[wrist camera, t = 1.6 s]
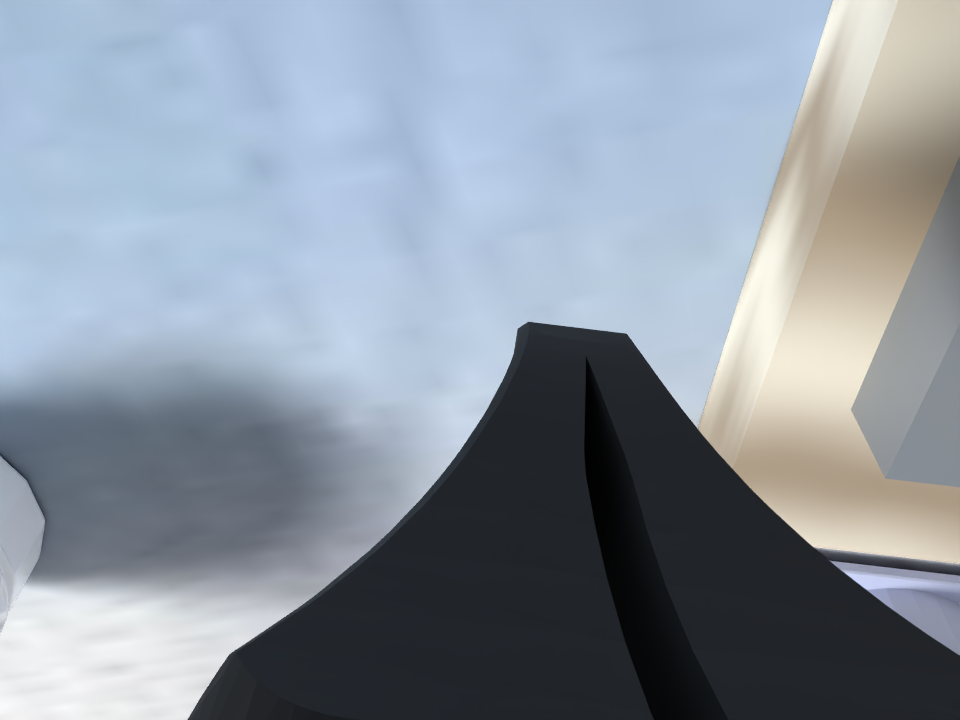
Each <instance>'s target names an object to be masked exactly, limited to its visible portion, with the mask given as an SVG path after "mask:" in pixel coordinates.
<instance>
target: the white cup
mask: <svg viewBox="0 0 960 720" xmlns="http://www.w3.org/2000/svg"><path fill="white" fill-rule="evenodd" d="M44 526H45V518H44V516H43V514H42V512H41V510H40V507H39V505H38V503H37V501H36V499H35V497H34V495H33V493H32V491H31V489H30V486H29V484H28V482H27V481H26V479H25V478H24V477H23V476H21V475H20V474H19V473H18V472H17V471H16V470H15V469H14V468H13V467H12V466H11V465H9V464H8V463H7V462H6V461H5V460H4V459H3V458H2V457H1V456H0V634H1V631H2V629H3V626H4V624H5V621H6V619H7V616H8V612H9V611H10V609H11V607H12V606H13V604H14V602H15V600H16V599H17V597H18V595H19V593H20V592H21V590H22V588H23V586H24V584H25V583H26V581H27V579H28V577H29V575H30V574H31V572H32V570H33V568H34V567H35V565H36V563H37V561H38V559H39V557H40V553H41V546H42V540H43V533H44Z"/></svg>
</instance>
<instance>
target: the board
mask: <svg viewBox="0 0 960 720" xmlns="http://www.w3.org/2000/svg"><path fill="white" fill-rule="evenodd" d="M959 156H960V0H833V2H832V5H831V9H830V12H829V15H828V18H827V21H826V25H825V28H824V31H823V34H822V37H821V40H820V44H819V47H818V50H817V53H816V56H815V59H814V63H813V66H812V69H811V72H810V75H809V78H808V82H807V85H806V88H805V91H804V94H803V97H802V101H801V104H800V107H799V110H798V113H797V117H796V120H795V123H794V126H793V129H792V132H791V136H790V139H789V142H788V145H787V148H786V151H785V155H784V158H783V161H782V164H781V167H780V170H779V174H778V177H777V180H776V183H775V186H774V189H773V193H772V196H771V199H770V202H769V205H768V209H767V212H766V215H765V218H764V221H763V224H762V228H761V231H760V234H759V237H758V240H757V243H756V247H755V250H754V253H753V256H752V259H751V262H750V266H749V269H748V272H747V275H746V278H745V282H744V285H743V288H742V291H741V294H740V297H739V301H738V304H737V307H736V310H735V313H734V316H733V320H732V323H731V326H730V329H729V332H728V335H727V339H726V342H725V345H724V348H723V351H722V354H721V358H720V361H719V364H718V367H717V370H716V374H715V377H714V380H713V383H712V386H711V389H710V393H709V396H708V399H707V402H706V405H705V408H704V412H703V415H702V418H701V421H700V424H699V427H698V430H699V431H700V432H701V434H702V435H703V436H704V437H705V438H706V440H707V441H708V442H709V443H710V444H711V445H712V447H713V448H714V449H715V450H716V451H717V452H718V454H719V455H720V456H721V457H722V458H723V459H724V460H725V461H726V462H727V463H728V464H729V466H730V467H731V468H732V469H733V470H734V471H735V472H736V473H737V474H738V475H739V476H740V477H741V479H742V480H743V481H744V482H745V483H746V484H747V485H748V486H749V487H750V488H751V489H752V490H753V491H754V492H755V493H756V494H757V495H758V496H759V497H760V498H761V499H762V500H763V501H764V502H765V503H766V504H767V505H768V506H769V507H770V508H771V509H772V510H773V511H774V512H775V513H776V514H777V515H779V516H780V517H781V518H782V519H783V520H784V521H785V522H786V523H787V524H788V525H789V526H791V527H792V528H793V529H794V530H795V531H796V532H797V533H798V534H799V535H800V536H801V537H803V538H804V539H805V540H806V541H807V542H808V543H809V544H810V545H811V546H813V547H818V548H827V549H835V550H844V551H853V552H861V553H870V554H879V555H887V556H896V557H904V558H913V559H922V560H930V561H939V562H948V563H956V564H960V487H953V486H944V485H936V484H927V483H919V482H910V481H902V480H893V479H885V477H884V475H883V473H882V471H881V469H880V467H879V465H878V463H877V461H876V459H875V457H874V455H873V453H872V451H871V449H870V447H869V445H868V443H867V441H866V439H865V437H864V435H863V433H862V431H861V429H860V427H859V425H858V423H857V421H856V419H855V417H854V415H853V413H852V411H851V408H852V406H853V403H854V401H855V399H856V396H857V394H858V392H859V389H860V387H861V385H862V382H863V380H864V378H865V375H866V373H867V371H868V369H869V366H870V364H871V362H872V359H873V357H874V355H875V352H876V350H877V348H878V345H879V343H880V341H881V338H882V336H883V334H884V331H885V329H886V327H887V324H888V322H889V320H890V317H891V315H892V313H893V310H894V308H895V306H896V303H897V301H898V299H899V296H900V294H901V292H902V289H903V287H904V285H905V282H906V280H907V278H908V275H909V273H910V271H911V268H912V266H913V264H914V261H915V259H916V257H917V254H918V252H919V250H920V247H921V245H922V243H923V240H924V238H925V236H926V233H927V231H928V229H929V226H930V224H931V222H932V219H933V217H934V215H935V212H936V210H937V208H938V205H939V203H940V201H941V198H942V196H943V194H944V191H945V189H946V187H947V184H948V182H949V180H950V177H951V175H952V173H953V170H954V168H955V166H956V163H957V161H958V159H959Z"/></svg>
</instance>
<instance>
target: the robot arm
mask: <svg viewBox="0 0 960 720" xmlns="http://www.w3.org/2000/svg"><path fill="white" fill-rule="evenodd" d="M188 720H960V576H957V575H949V574H940V573H931V572H923V571H914V570H905V569H897V568H888V567H879V566H871V565H862V564H853V563H845V562H836V561H829V560H828V559H827V558H826V557H824V556H823V555H822V554H821V553H820V552H818V551H817V550H816V549H815V548H814V547H813V546H811V545H810V544H809V543H808V542H807V541H806V540H805V539H804V538H803V537H801V536H800V535H799V534H798V533H797V532H796V531H795V530H794V529H793V528H792V527H791V526H789V525H788V524H787V523H786V522H785V521H784V520H783V519H782V518H781V517H780V516H779V515H777V514H776V513H775V512H774V511H773V510H772V509H771V508H770V507H769V506H768V505H767V504H766V503H765V502H764V501H763V500H762V499H761V498H760V497H759V496H758V495H757V494H756V493H755V492H754V491H753V490H752V489H751V488H750V487H749V486H748V485H747V484H746V483H745V482H744V481H743V480H742V479H741V477H740V476H739V475H738V474H737V473H736V472H735V471H734V470H733V469H732V468H731V467H730V466H729V464H728V463H727V462H726V461H725V460H724V459H723V458H722V457H721V456H720V455H719V454H718V452H717V451H716V450H715V449H714V448H713V447H712V445H711V444H710V443H709V442H708V441H707V440H706V438H705V437H704V436H703V435H702V434H701V432H700V431H699V430H698V429H697V427H696V426H695V425H694V424H693V422H692V421H691V420H690V419H689V417H688V416H687V415H686V414H685V412H684V411H683V410H682V409H681V407H680V406H679V405H678V403H677V402H676V401H675V399H674V398H673V397H672V395H671V394H670V393H669V391H668V390H667V389H666V387H665V386H664V385H663V383H662V382H661V380H660V379H659V378H658V376H657V375H656V374H655V372H654V371H653V369H652V368H651V367H650V365H649V364H648V362H647V361H646V360H645V358H644V357H643V355H642V354H641V353H640V351H639V350H638V349H637V347H636V346H635V344H634V343H633V342H632V340H631V339H630V338H629V336H628V335H627V334H624V333H616V332H608V331H599V330H591V329H583V328H575V327H566V326H558V325H550V324H542V323H533V322H528V323H526V324H524V325H523V326H521V327H520V328H518V331H517V337H516V343H515V349H514V355H513V358H512V360H511V363H510V365H509V368H508V370H507V372H506V375H505V377H504V379H503V381H502V383H501V385H500V386H499V388H498V390H497V392H496V394H495V396H494V398H493V400H492V402H491V403H490V405H489V407H488V409H487V411H486V412H485V414H484V416H483V417H482V419H481V420H480V422H479V423H478V425H477V426H476V428H475V429H474V431H473V432H472V434H471V435H470V437H469V438H468V440H467V441H466V443H465V444H464V446H463V447H462V449H461V450H460V452H459V453H458V454H457V456H456V457H455V458H454V460H453V461H452V462H451V464H450V465H449V466H448V468H447V469H446V470H445V471H444V473H443V474H442V475H441V476H440V478H439V479H438V480H437V481H436V482H435V483H434V485H433V486H432V487H431V488H430V489H429V491H428V492H427V493H426V494H425V495H424V496H423V497H422V499H421V500H420V501H419V502H418V503H417V504H416V505H415V506H414V507H413V508H412V509H411V510H410V511H409V512H408V513H407V514H406V515H405V516H404V517H403V519H402V520H401V521H400V522H399V523H398V524H397V525H396V526H395V527H394V528H393V529H392V530H391V531H390V532H389V533H388V534H387V535H386V536H385V537H384V538H383V539H382V540H380V541H379V542H378V543H377V544H376V545H375V546H374V547H373V548H372V549H371V550H370V551H369V552H367V553H366V554H365V555H364V556H363V557H361V558H360V559H359V560H358V561H357V562H355V563H354V564H353V565H352V566H350V567H349V568H348V569H347V570H346V571H344V572H343V573H342V574H341V575H340V576H338V577H337V578H336V579H335V580H334V581H332V582H331V583H330V584H329V585H328V586H326V587H325V588H324V589H323V590H322V591H320V592H319V593H318V594H317V595H315V596H314V597H313V598H311V599H310V600H309V601H307V602H306V603H305V604H303V605H302V606H300V607H299V608H297V609H296V610H294V611H293V612H292V613H290V614H289V615H287V616H286V617H284V618H283V619H281V620H280V621H278V622H277V623H275V624H274V625H272V626H271V627H269V628H268V629H266V630H265V631H264V632H262V633H261V634H259V635H258V636H256V637H255V638H253V639H252V640H250V641H249V642H247V643H246V644H244V645H243V646H241V647H240V648H238V649H237V650H235V651H234V652H232V653H231V654H229V656H228V657H227V659H226V660H225V662H224V663H223V664H222V666H221V667H220V669H219V670H218V672H217V673H216V675H215V677H214V678H213V680H212V681H211V683H210V684H209V686H208V687H207V689H206V690H205V692H204V693H203V695H202V697H201V698H200V700H199V701H198V703H197V705H196V707H195V708H194V710H193V712H192V713H191V715H190V717H189V718H188Z"/></svg>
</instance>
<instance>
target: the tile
mask: <svg viewBox="0 0 960 720" xmlns="http://www.w3.org/2000/svg"><path fill="white" fill-rule="evenodd" d="M851 411H852V413H853V415H854V417H855V419H856V421H857V423H858V425H859V427H860V429H861V431H862V433H863V435H864V437H865V439H866V441H867V443H868V445H869V447H870V449H871V451H872V453H873V455H874V457H875V459H876V461H877V463H878V465H879V467H880V469H881V471H882V473H883V475H884V477H885V479H893V480H902V481H910V482H919V483H927V484H936V485H944V486H953V487H960V156H959V159H958V161H957V163H956V166H955V168H954V170H953V173H952V175H951V177H950V180H949V182H948V184H947V187H946V189H945V191H944V194H943V196H942V198H941V201H940V203H939V205H938V208H937V210H936V212H935V215H934V217H933V219H932V222H931V224H930V226H929V229H928V231H927V233H926V236H925V238H924V240H923V243H922V245H921V247H920V250H919V252H918V254H917V257H916V259H915V261H914V264H913V266H912V268H911V271H910V273H909V275H908V278H907V280H906V282H905V285H904V287H903V289H902V292H901V294H900V296H899V299H898V301H897V303H896V306H895V308H894V310H893V313H892V315H891V317H890V320H889V322H888V324H887V327H886V329H885V331H884V334H883V336H882V338H881V341H880V343H879V345H878V348H877V350H876V352H875V355H874V357H873V359H872V362H871V364H870V366H869V369H868V371H867V373H866V375H865V378H864V380H863V382H862V385H861V387H860V389H859V392H858V394H857V396H856V399H855V401H854V403H853V406H852V408H851Z"/></svg>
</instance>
